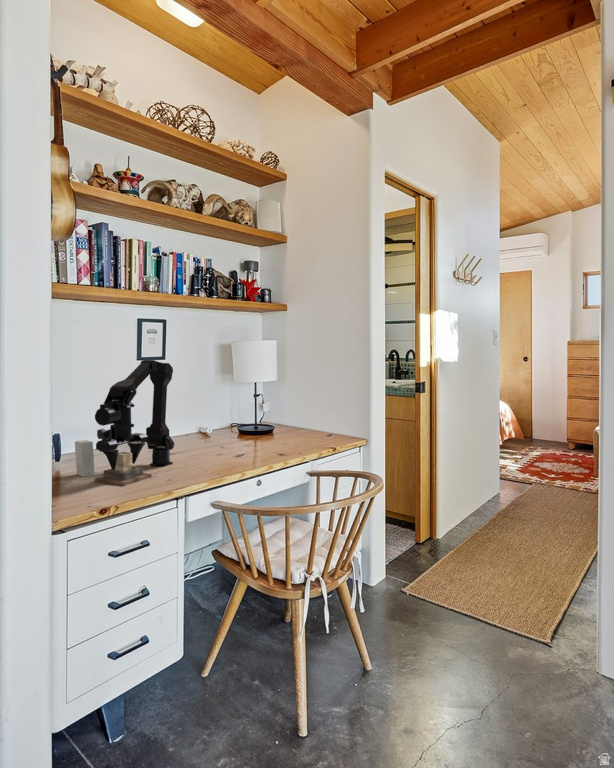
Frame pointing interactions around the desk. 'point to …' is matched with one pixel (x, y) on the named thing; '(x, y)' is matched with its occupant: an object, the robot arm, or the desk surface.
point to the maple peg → (124, 462)
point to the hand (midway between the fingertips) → (123, 466)
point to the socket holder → (123, 476)
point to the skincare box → (84, 458)
